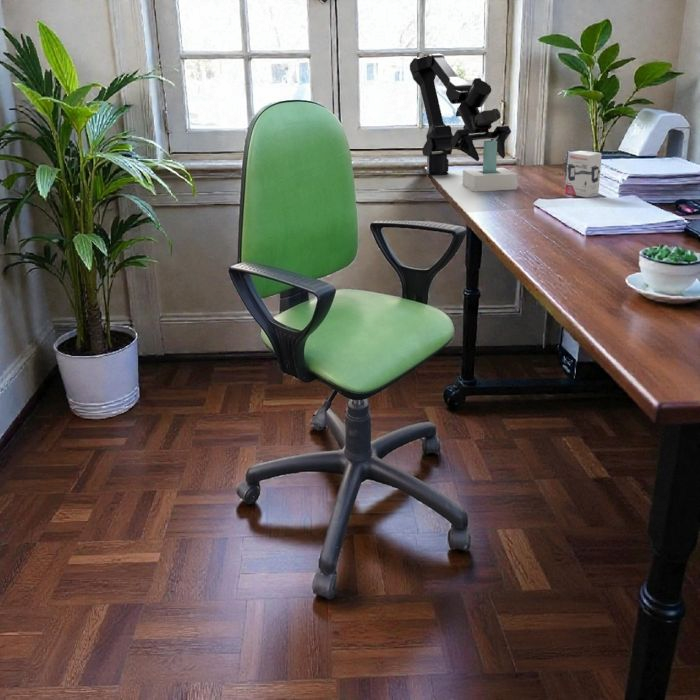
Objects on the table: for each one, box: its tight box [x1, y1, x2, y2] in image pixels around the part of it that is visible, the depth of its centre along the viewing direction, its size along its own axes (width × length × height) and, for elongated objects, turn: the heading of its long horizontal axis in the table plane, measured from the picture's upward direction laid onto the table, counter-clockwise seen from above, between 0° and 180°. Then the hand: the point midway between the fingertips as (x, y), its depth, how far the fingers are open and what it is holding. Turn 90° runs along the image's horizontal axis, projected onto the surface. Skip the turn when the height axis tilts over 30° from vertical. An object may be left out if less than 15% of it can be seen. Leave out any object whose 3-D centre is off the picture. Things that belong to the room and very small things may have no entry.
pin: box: [482, 140, 498, 174], centre depth 230 cm, size 4×4×12 cm
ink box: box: [564, 150, 603, 198], centre depth 214 cm, size 8×5×12 cm, turn 31°
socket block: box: [462, 167, 518, 193], centre depth 232 cm, size 13×13×4 cm
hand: (491, 158), depth 229 cm, fingers open, 9 cm apart
